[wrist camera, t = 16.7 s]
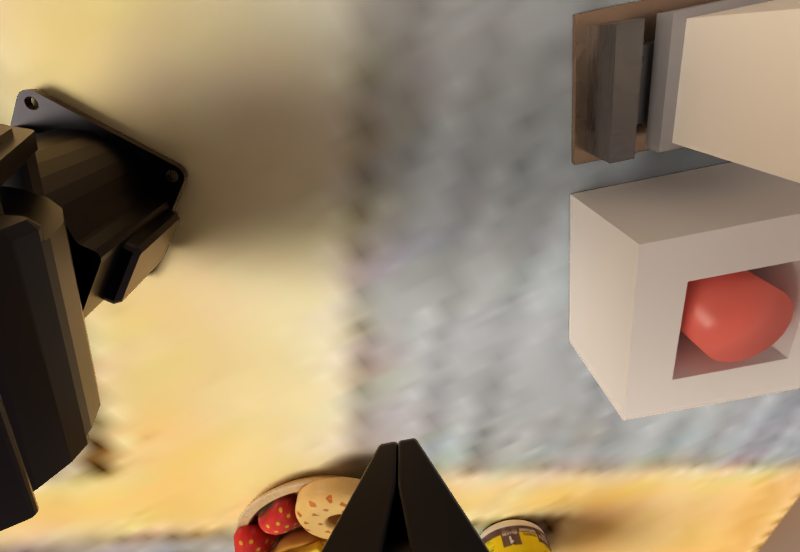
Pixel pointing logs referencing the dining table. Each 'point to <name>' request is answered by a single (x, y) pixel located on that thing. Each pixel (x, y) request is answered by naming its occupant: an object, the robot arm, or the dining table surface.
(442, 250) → the dining table surface
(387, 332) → the dining table surface
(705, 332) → the button
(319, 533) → the toy food set
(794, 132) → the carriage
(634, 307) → the white button housing
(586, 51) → the rail
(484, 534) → the supplement bottle
